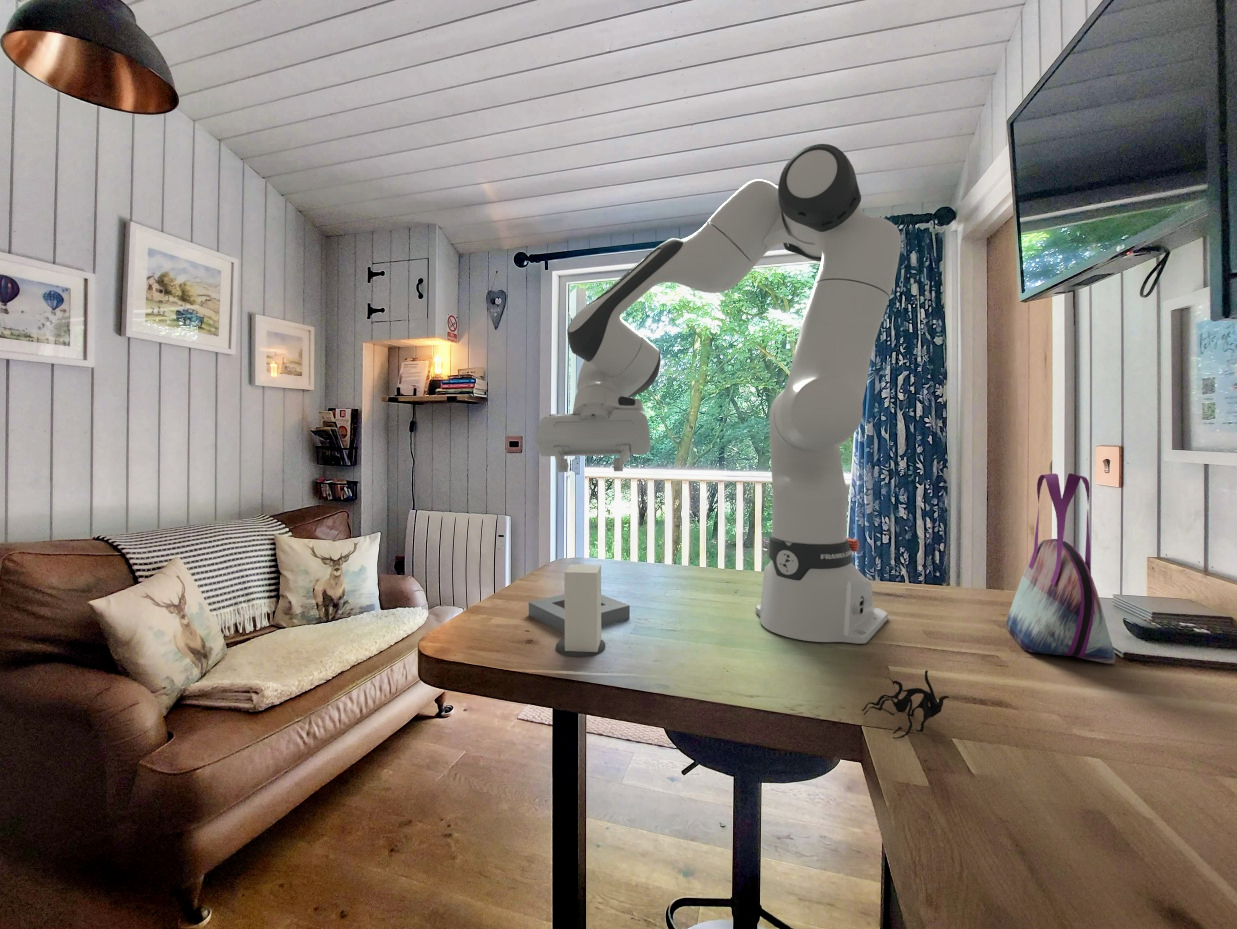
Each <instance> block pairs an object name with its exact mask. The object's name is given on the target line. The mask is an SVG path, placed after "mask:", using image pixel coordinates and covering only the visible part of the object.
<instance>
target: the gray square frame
mask: <svg viewBox="0 0 1237 929" xmlns="http://www.w3.org/2000/svg"><path fill="white" fill-rule="evenodd" d="M630 612H631V611H630V604H628V603H625V602H622V601H619V600H617V599H613V598H611V597H608V596H606V595H604V594H601V628H602V627H606V626H609V625H612V624H616V623H621V622H622V621H627V620H630V618H631V616H630ZM528 616H529V617H531V618H532V619H535V620H537V621H539V622H540V623H543V624H545V625H546V626H549V627H550V628H552V629H555V630H556V631H558V632H560V633H562V634H564V635H565V594H560V595H559V594H558V595H554V596H550V597H545V598H541V599H540V598H539V599H537V600H533V601H529V602H528Z"/></svg>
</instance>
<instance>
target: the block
mask: <svg viewBox="0 0 1237 929" xmlns="http://www.w3.org/2000/svg"><path fill="white" fill-rule="evenodd" d="M563 573H564V578H563V580H564V589H563V590H564V594H565V634H564V638H565V651H583V652H597V651H598V648H599V645H600V642H601V639H602V627H601V595H602V564H577V563H576V564H573V563H572V564H569V566H568V567H567V568H566V569H565V571H564V572H563Z"/></svg>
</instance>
